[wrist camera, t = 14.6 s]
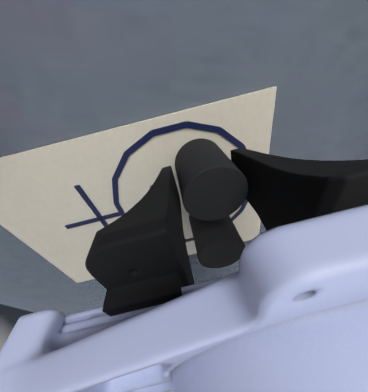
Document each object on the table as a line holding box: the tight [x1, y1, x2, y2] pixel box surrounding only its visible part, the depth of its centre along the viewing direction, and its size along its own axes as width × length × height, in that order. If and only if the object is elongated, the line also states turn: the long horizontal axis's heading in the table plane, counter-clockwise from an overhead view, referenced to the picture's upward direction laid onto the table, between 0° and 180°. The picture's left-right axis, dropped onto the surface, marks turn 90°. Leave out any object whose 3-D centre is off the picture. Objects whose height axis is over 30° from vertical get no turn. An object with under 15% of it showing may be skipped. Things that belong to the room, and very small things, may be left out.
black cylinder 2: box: [189, 214, 245, 268], centre depth 14 cm, size 4×4×4 cm
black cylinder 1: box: [175, 138, 248, 221], centre depth 10 cm, size 4×4×4 cm
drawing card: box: [0, 87, 277, 283], centre depth 15 cm, size 15×22×1 cm
